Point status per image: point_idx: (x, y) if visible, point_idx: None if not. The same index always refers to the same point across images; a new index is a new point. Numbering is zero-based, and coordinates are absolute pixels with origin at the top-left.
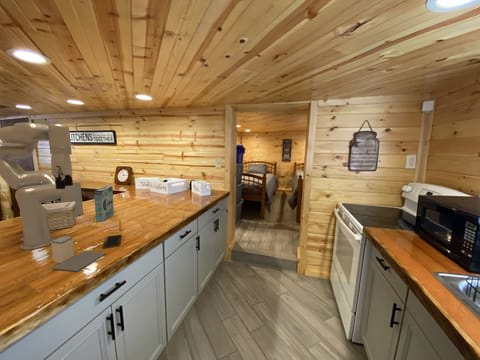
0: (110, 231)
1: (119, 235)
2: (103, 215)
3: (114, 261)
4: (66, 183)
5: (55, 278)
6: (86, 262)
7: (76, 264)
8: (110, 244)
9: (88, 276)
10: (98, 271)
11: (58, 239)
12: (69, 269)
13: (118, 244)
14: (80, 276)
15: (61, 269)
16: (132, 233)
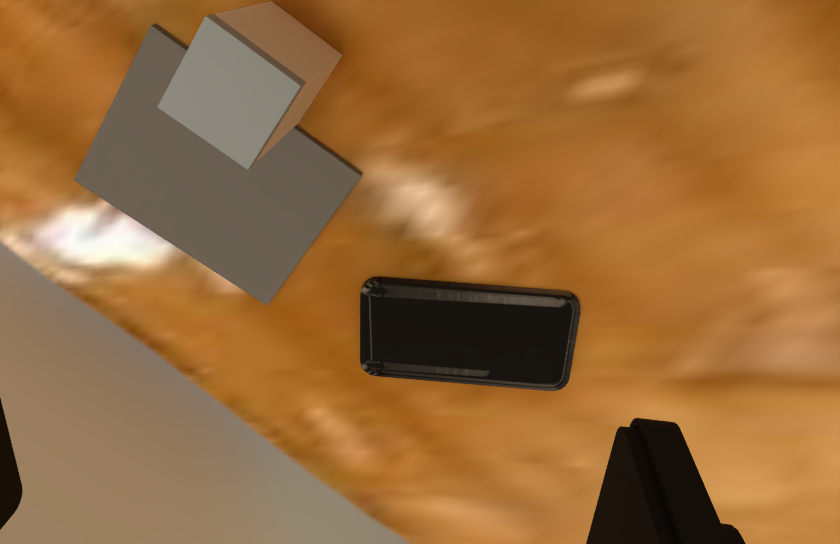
0: (730, 313)
1: (556, 376)
2: None
3: (149, 342)
4: (628, 524)
5: (37, 76)
6: (166, 212)
7: (157, 162)
8: (400, 324)
9: (18, 236)
10: (58, 275)
11: (228, 69)
12: (102, 135)
13: (375, 367)
14: (27, 199)
15: (120, 88)
16: (567, 445)
